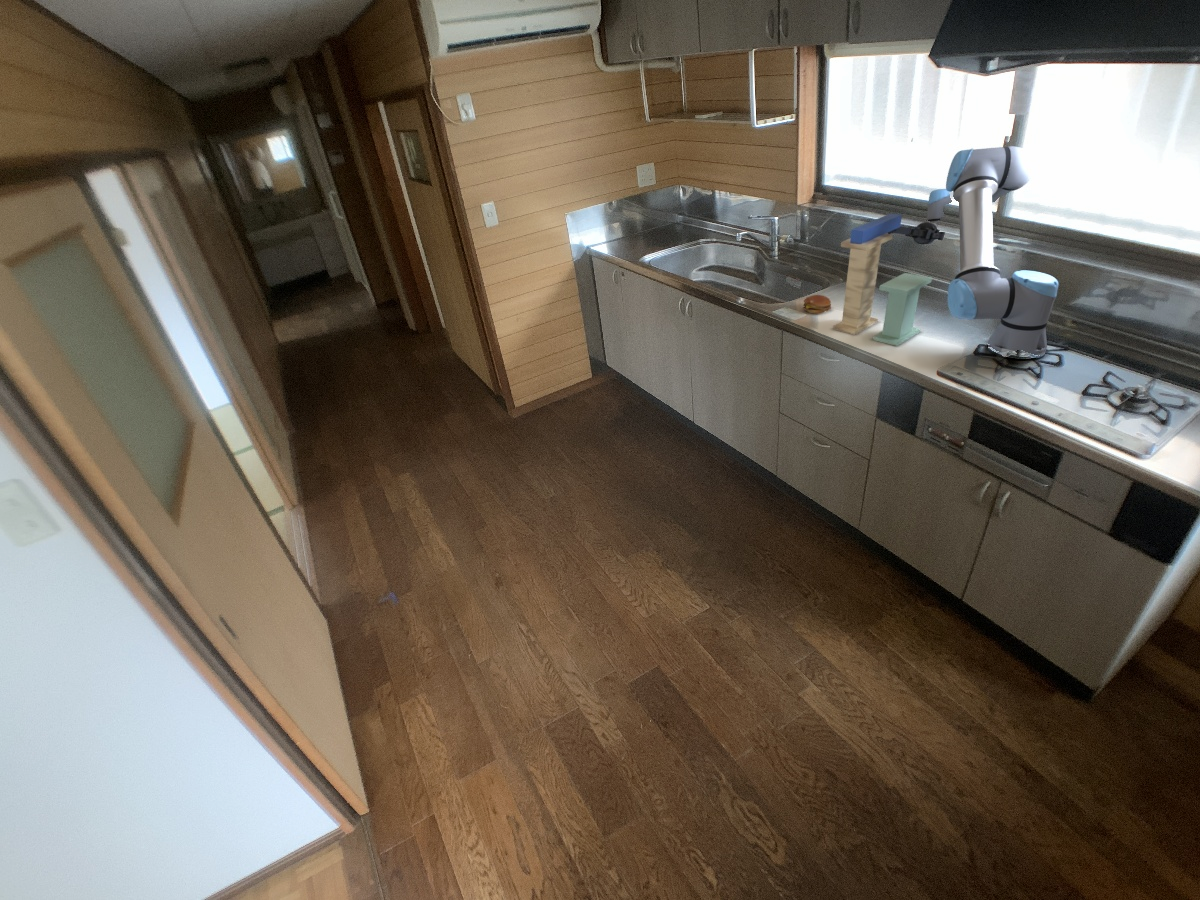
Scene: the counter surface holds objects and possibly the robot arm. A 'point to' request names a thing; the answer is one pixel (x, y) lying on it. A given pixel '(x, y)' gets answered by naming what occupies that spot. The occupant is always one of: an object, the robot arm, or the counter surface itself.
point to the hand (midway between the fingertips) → (905, 231)
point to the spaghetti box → (875, 228)
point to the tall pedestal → (861, 284)
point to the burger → (817, 304)
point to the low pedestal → (901, 308)
